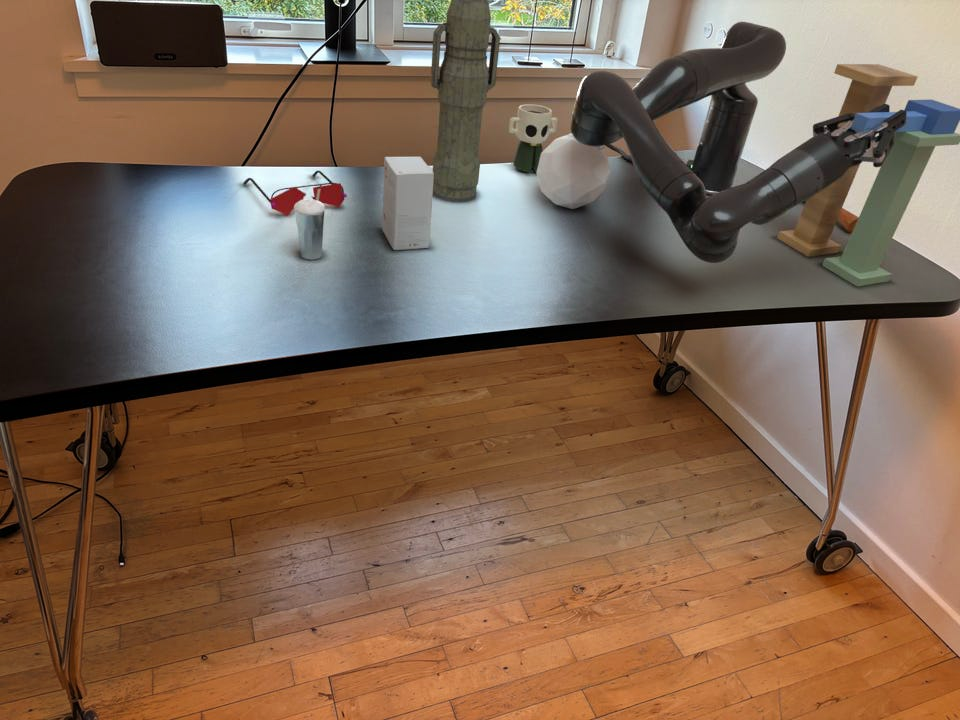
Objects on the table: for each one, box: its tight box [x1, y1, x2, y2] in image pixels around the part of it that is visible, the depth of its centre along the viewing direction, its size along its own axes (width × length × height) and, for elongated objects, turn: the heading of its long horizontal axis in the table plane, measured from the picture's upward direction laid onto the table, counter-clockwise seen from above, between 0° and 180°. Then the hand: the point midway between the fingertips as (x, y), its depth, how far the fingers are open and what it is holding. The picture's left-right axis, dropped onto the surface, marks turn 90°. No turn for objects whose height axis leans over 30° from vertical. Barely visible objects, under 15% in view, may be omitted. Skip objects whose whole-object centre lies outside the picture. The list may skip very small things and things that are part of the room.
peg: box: [851, 99, 960, 135], centre depth 109 cm, size 18×6×4 cm, turn 114°
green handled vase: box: [430, 0, 501, 203], centre depth 130 cm, size 9×12×35 cm
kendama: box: [837, 207, 859, 234], centre depth 150 cm, size 6×6×20 cm
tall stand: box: [776, 63, 918, 258], centre depth 126 cm, size 10×8×32 cm
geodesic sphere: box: [535, 133, 612, 210], centre depth 137 cm, size 15×14×14 cm
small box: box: [381, 156, 434, 251], centre depth 117 cm, size 8×6×13 cm
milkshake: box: [293, 189, 326, 261], centre depth 110 cm, size 4×5×10 cm
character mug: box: [508, 103, 558, 173], centre depth 151 cm, size 11×7×13 cm, turn 109°
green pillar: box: [822, 131, 960, 288], centre depth 120 cm, size 10×8×26 cm
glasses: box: [242, 170, 348, 216], centre depth 129 cm, size 14×16×5 cm
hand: (895, 112), depth 108 cm, fingers closed on peg, 2 cm apart
